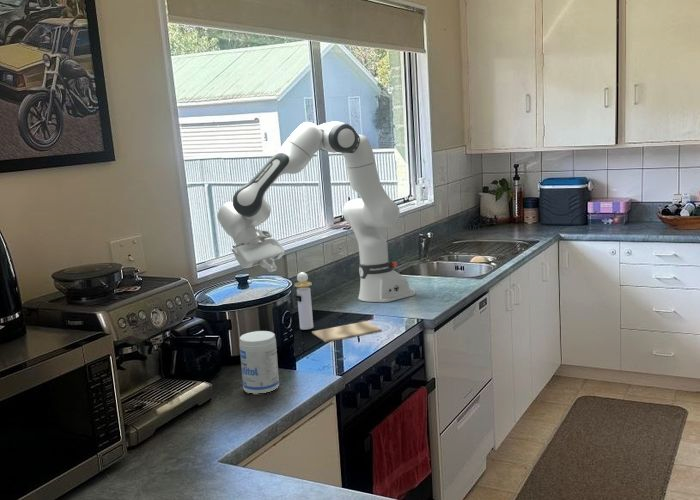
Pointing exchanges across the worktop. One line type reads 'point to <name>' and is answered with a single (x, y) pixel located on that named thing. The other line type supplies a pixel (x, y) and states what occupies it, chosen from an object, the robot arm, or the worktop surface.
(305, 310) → the perfume bottle
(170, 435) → the worktop surface
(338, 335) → the mat
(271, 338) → the supplement tub
